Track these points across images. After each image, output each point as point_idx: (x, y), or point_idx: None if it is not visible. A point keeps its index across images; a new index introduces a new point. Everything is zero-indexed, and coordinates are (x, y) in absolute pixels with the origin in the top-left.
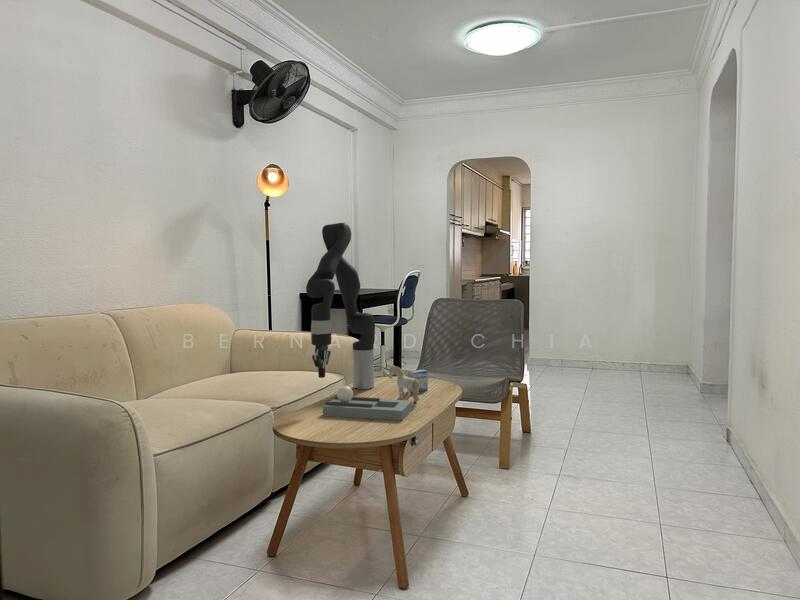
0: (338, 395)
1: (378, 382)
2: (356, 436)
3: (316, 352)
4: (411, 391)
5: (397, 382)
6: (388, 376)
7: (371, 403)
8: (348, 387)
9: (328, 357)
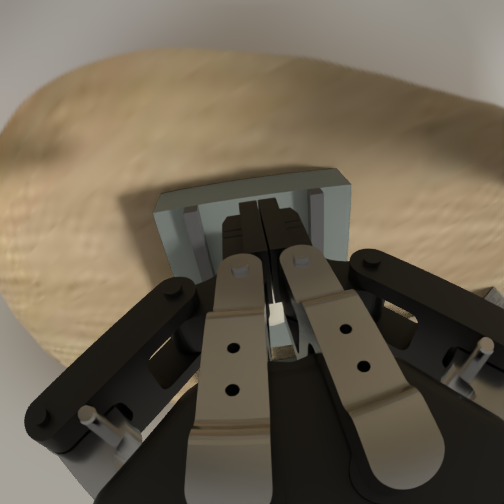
0: None
1: None
2: (73, 350)
3: (97, 496)
4: (485, 297)
5: None
6: None
7: (272, 337)
8: (271, 324)
9: (419, 361)
